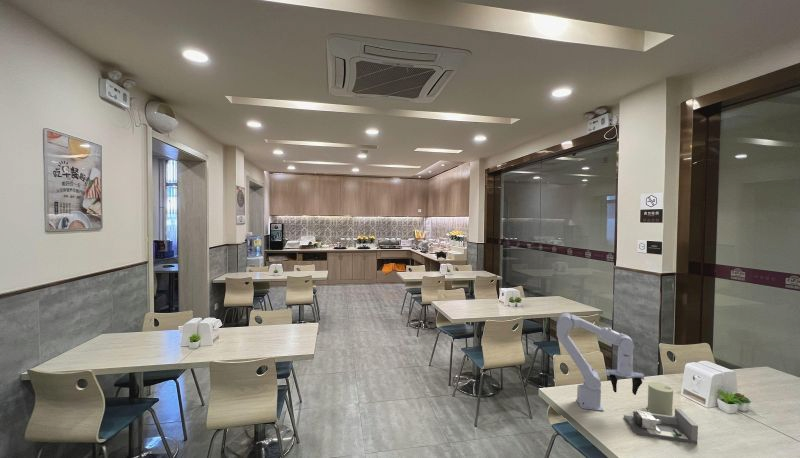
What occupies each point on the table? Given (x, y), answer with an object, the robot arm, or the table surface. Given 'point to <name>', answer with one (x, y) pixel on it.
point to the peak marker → (677, 432)
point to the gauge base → (668, 427)
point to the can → (660, 399)
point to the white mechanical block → (646, 420)
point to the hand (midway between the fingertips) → (624, 392)
